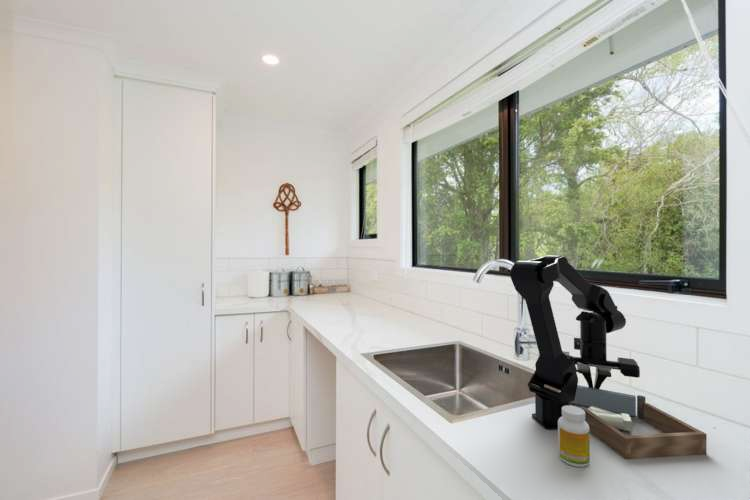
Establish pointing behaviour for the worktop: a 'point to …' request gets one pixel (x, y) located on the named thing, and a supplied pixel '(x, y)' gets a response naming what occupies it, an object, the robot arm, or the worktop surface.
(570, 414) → the supplement bottle
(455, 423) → the worktop surface
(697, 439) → the rectangular wooden tray
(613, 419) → the pipe fitting
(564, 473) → the worktop surface
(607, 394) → the grey rectangular bar
